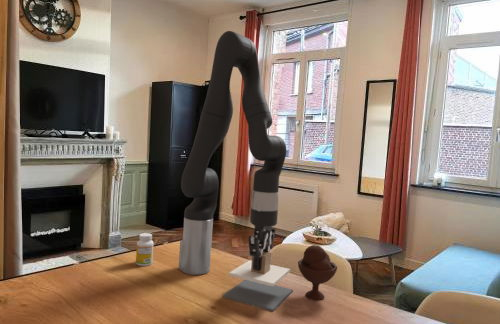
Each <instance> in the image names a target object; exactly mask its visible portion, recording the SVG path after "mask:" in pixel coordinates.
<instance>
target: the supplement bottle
mask: <svg viewBox="0 0 500 324" xmlns="http://www.w3.org/2000/svg"><path fill="white" fill-rule="evenodd" d="M138 239H139V240H138V241H137V242H136V254H135V264H136V265H138V266H141V267H145V266H151V265H152V264H154V263H153V262H154V243H155V242H154V241H153V240H152V239H153V234H152V233H149V232H144V233H140V234H139V238H138Z"/></svg>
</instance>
